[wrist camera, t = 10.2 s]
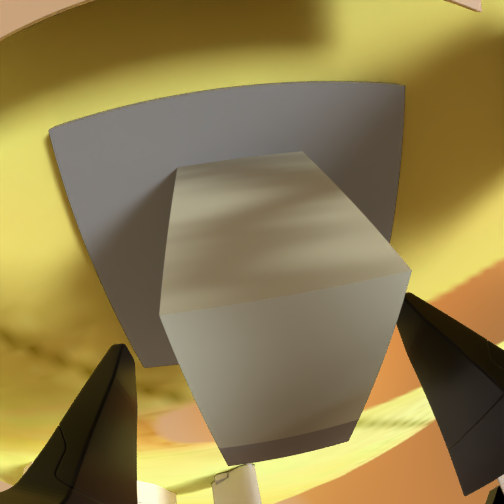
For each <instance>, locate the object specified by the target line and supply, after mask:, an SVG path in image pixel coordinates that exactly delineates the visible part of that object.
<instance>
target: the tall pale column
mask: <svg viewBox="0 0 504 504" xmlns="http://www.w3.org/2000/svg"><path fill="white" fill-rule="evenodd" d="M212 491H213V498H214V504H262V503H261V498H260V493H259V488H258V483H257V477H256V472H255V466H254V464H245V465H241V466H239V467H236V468H234V469H232V470H230V471H228V472H226V473H221V474H218V475H216V476H215V480H214V481H213V482H212Z"/></svg>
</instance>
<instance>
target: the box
mask: <svg viewBox="0 0 504 504" xmlns="http://www.w3.org/2000/svg"><path fill="white" fill-rule="evenodd" d="M411 272H412V270H411V269H410V268H409V266H408V265H407V264H406V263H405V262H404V260H403V259H402V258H401V257H400V256H399V254H398V253H397V252H396V251H395V250H394V248H393V247H392V246H391V245H390V244H389V243H388V241H387V240H386V239H385V238H384V237H383V236H382V234H381V233H380V232H379V231H378V230H377V229H376V228H375V226H374V225H373V224H372V223H371V222H370V221H369V220H368V219H367V218H366V216H365V215H364V214H363V213H362V212H361V211H360V210H359V209H358V208H357V207H356V205H355V204H354V203H353V202H352V201H351V200H350V199H349V198H348V197H347V196H346V195H345V194H344V193H343V192H342V191H341V190H340V188H339V187H338V186H337V185H336V184H335V183H334V182H333V181H332V180H331V179H330V178H329V177H328V176H327V175H326V174H325V173H324V172H323V171H322V170H321V169H320V168H319V167H318V166H317V165H316V164H315V163H314V162H313V161H312V160H311V159H310V158H309V157H308V156H307V155H306V154H305V153H304V152H303V151H300V152H289V153H279V154H270V155H261V156H253V157H245V158H237V159H230V160H222V161H215V162H209V163H202V164H196V165H190V166H184V167H178V168H177V174H176V180H175V186H174V193H173V199H172V206H171V213H170V220H169V227H168V235H167V243H166V251H165V260H164V269H163V279H162V289H161V300H160V312H159V316H160V319H161V321H162V324H163V326H164V329H165V331H166V334H167V336H168V339H169V341H170V344H171V346H172V349H173V351H174V354H175V356H176V358H177V361H178V363H179V365H180V368H181V370H182V372H183V375H184V377H185V379H186V381H187V384H188V386H189V388H190V390H191V392H192V395H193V397H194V399H195V401H196V403H197V405H198V407H199V410H200V411H201V414H202V416H203V418H204V420H205V422H206V424H207V426H208V428H209V430H210V432H211V434H212V436H213V438H214V440H215V442H216V444H217V446H218V448H219V450H220V452H221V453H222V455H223V457H224V459H225V461H226V463H227V465H228V466H233V465H240V464H247V463H254V462H260V461H266V460H271V459H277V458H282V457H287V456H292V455H296V454H301V453H305V452H309V451H314V450H318V449H322V448H325V447H329V446H333V445H336V444H340V443H344V442H347V441H349V439H350V437H351V435H352V433H353V430H354V428H355V426H356V424H357V422H358V420H359V418H360V415H361V413H362V411H363V409H364V406H365V404H366V402H367V400H368V397H369V395H370V392H371V390H372V388H373V385H374V383H375V380H376V378H377V375H378V373H379V370H380V367H381V365H382V362H383V360H384V357H385V354H386V352H387V349H388V346H389V343H390V340H391V337H392V334H393V332H394V329H395V326H396V322H397V319H398V316H399V313H400V310H401V307H402V303H403V300H404V297H405V293H406V290H407V286H408V283H409V279H410V275H411Z"/></svg>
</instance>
